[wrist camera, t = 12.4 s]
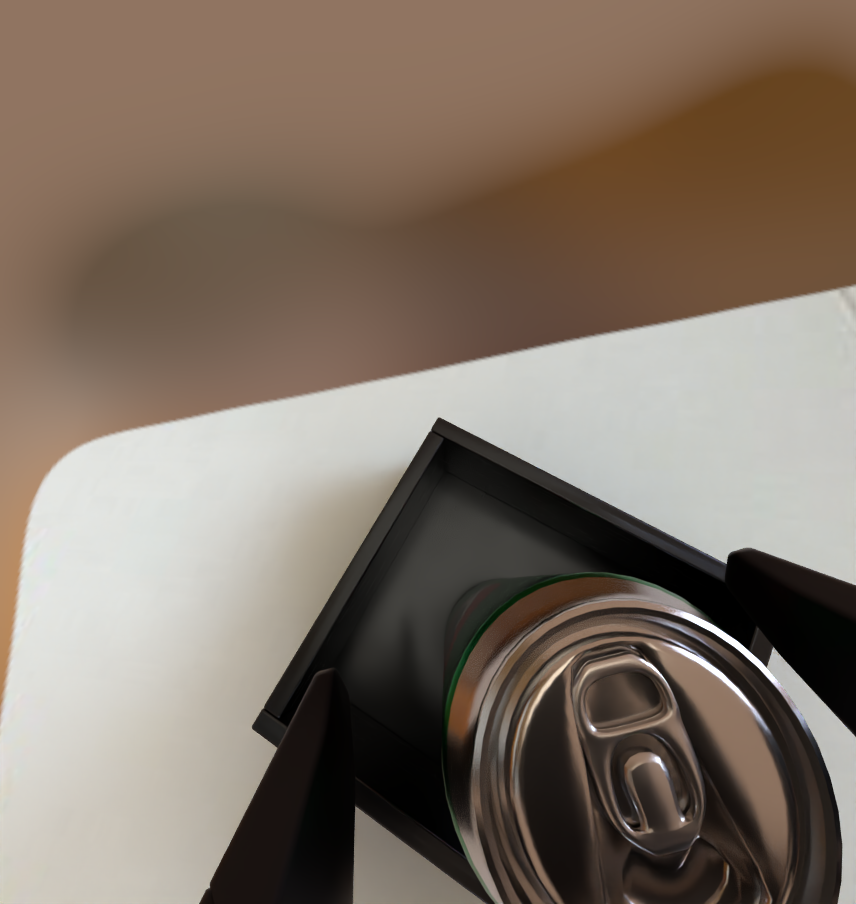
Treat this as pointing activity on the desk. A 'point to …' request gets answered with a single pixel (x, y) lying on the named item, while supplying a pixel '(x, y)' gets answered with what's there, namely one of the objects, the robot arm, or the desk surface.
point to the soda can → (626, 752)
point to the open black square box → (435, 596)
